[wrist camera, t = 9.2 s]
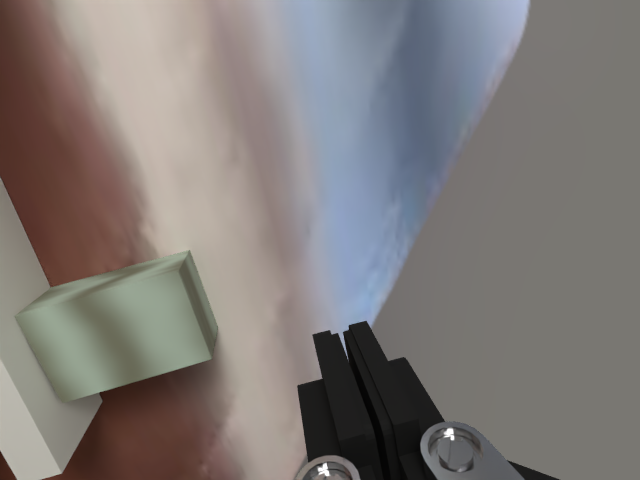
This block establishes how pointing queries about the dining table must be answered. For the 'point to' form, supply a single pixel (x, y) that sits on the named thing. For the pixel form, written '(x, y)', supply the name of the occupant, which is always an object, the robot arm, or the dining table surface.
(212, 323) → the block
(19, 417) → the board
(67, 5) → the dining table surface
